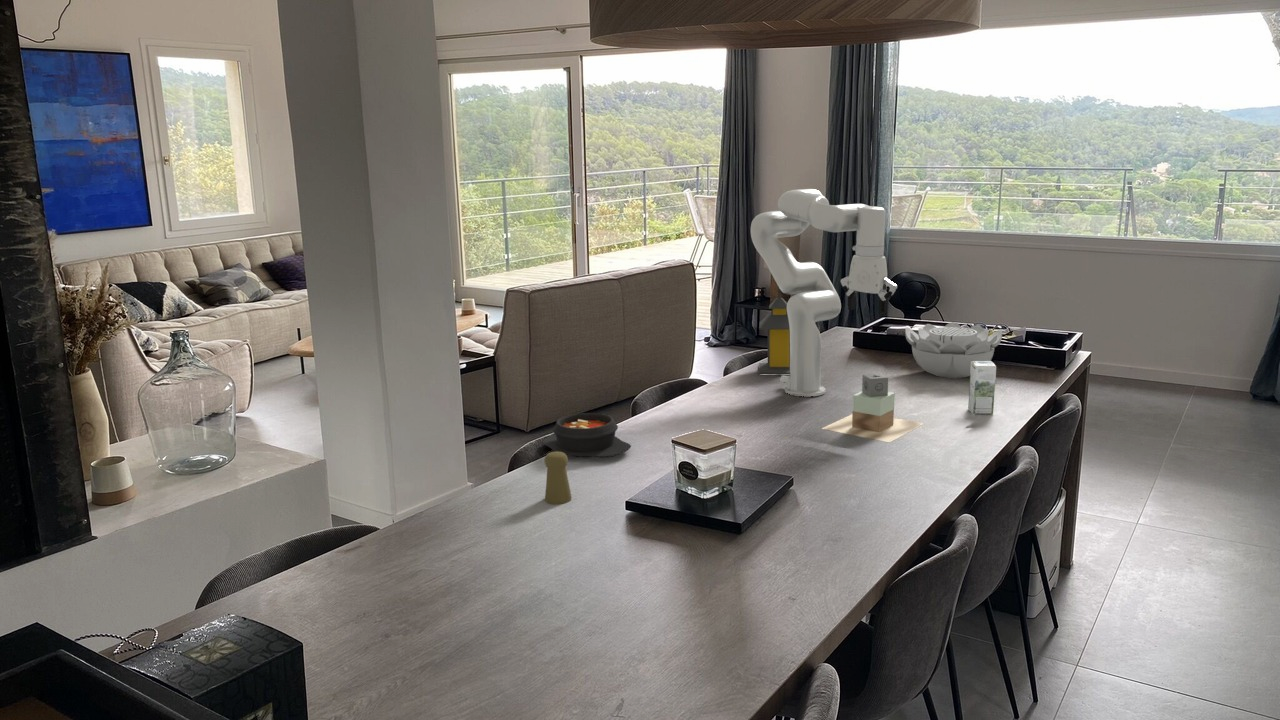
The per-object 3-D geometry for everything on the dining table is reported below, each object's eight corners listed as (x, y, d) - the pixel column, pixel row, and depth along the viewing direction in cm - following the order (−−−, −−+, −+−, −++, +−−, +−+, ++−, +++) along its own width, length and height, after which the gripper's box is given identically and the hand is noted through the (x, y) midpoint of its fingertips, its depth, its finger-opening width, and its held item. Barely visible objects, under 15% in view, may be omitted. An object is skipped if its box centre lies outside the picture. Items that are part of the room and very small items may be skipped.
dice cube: (870, 397, 249) (870, 378, 248) (862, 392, 254) (862, 374, 253) (887, 395, 250) (888, 377, 249) (879, 390, 255) (879, 373, 254)
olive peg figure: (545, 495, 216) (542, 449, 214) (571, 493, 217) (569, 448, 214) (544, 504, 210) (542, 458, 208) (571, 503, 211) (569, 456, 208)
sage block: (852, 411, 253) (853, 395, 252) (867, 404, 259) (867, 388, 258) (880, 416, 248) (880, 399, 247) (894, 409, 254) (894, 392, 253)
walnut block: (852, 427, 254) (852, 411, 253) (866, 420, 260) (866, 404, 259) (879, 432, 249) (879, 416, 248) (893, 425, 255) (893, 409, 254)
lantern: (758, 375, 318) (758, 287, 311) (759, 365, 332) (758, 281, 325) (800, 375, 316) (801, 287, 309) (799, 365, 330) (800, 280, 323)
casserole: (645, 449, 246) (644, 418, 244) (601, 470, 232) (599, 437, 230) (573, 434, 261) (571, 405, 259) (526, 452, 246) (525, 422, 244)
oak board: (821, 433, 254) (821, 428, 254) (857, 416, 268) (857, 411, 268) (889, 447, 241) (889, 442, 241) (923, 428, 255) (924, 423, 255)
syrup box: (988, 409, 272) (991, 360, 268) (993, 414, 266) (996, 365, 262) (967, 409, 272) (970, 360, 269) (972, 415, 266) (975, 365, 263)
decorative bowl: (920, 360, 331) (921, 318, 328) (1007, 370, 314) (1010, 326, 310) (887, 379, 307) (888, 334, 304) (980, 391, 290) (982, 343, 287)
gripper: (835, 250, 265) (833, 309, 270) (891, 255, 254) (888, 317, 258) (849, 247, 271) (847, 305, 275) (904, 252, 259) (901, 313, 264)
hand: (867, 311), depth 267 cm, fingers open, 9 cm apart
